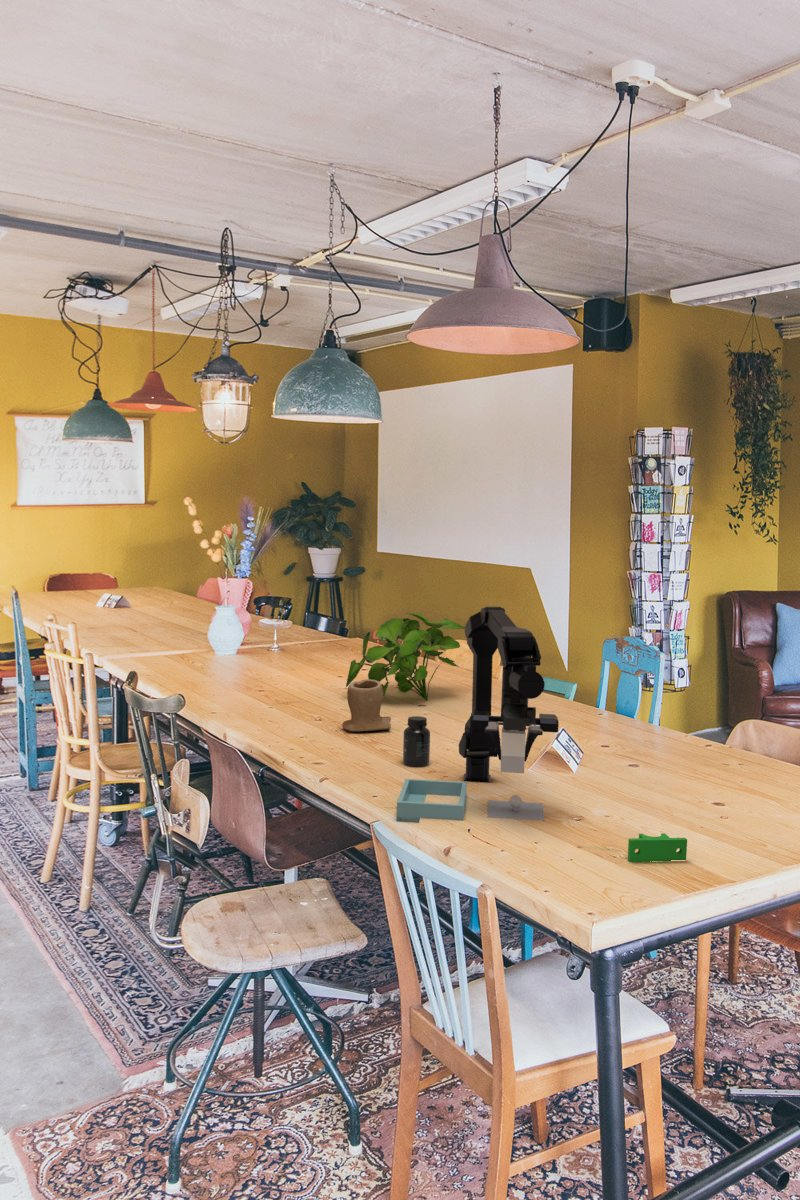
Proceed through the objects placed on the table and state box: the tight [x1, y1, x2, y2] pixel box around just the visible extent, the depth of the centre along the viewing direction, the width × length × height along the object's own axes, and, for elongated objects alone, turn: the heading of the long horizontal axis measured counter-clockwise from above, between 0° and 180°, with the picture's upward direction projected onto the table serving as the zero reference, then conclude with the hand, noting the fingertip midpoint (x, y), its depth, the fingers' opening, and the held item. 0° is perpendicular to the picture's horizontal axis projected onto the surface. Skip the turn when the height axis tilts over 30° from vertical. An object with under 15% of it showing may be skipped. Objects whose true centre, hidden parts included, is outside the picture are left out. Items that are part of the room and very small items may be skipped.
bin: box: [395, 778, 468, 823], centre depth 215 cm, size 18×14×4 cm
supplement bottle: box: [402, 715, 431, 768], centre depth 252 cm, size 7×7×12 cm
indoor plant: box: [345, 612, 465, 701], centre depth 335 cm, size 44×42×30 cm
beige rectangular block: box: [500, 726, 527, 774], centre depth 212 cm, size 5×5×9 cm
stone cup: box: [341, 678, 392, 732], centre depth 287 cm, size 15×12×15 cm
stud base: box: [486, 794, 545, 821], centre depth 213 cm, size 12×12×4 cm
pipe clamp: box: [627, 833, 688, 863], centre depth 188 cm, size 11×4×5 cm, turn 96°
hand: (512, 760), depth 212 cm, fingers closed on beige rectangular block, 5 cm apart
